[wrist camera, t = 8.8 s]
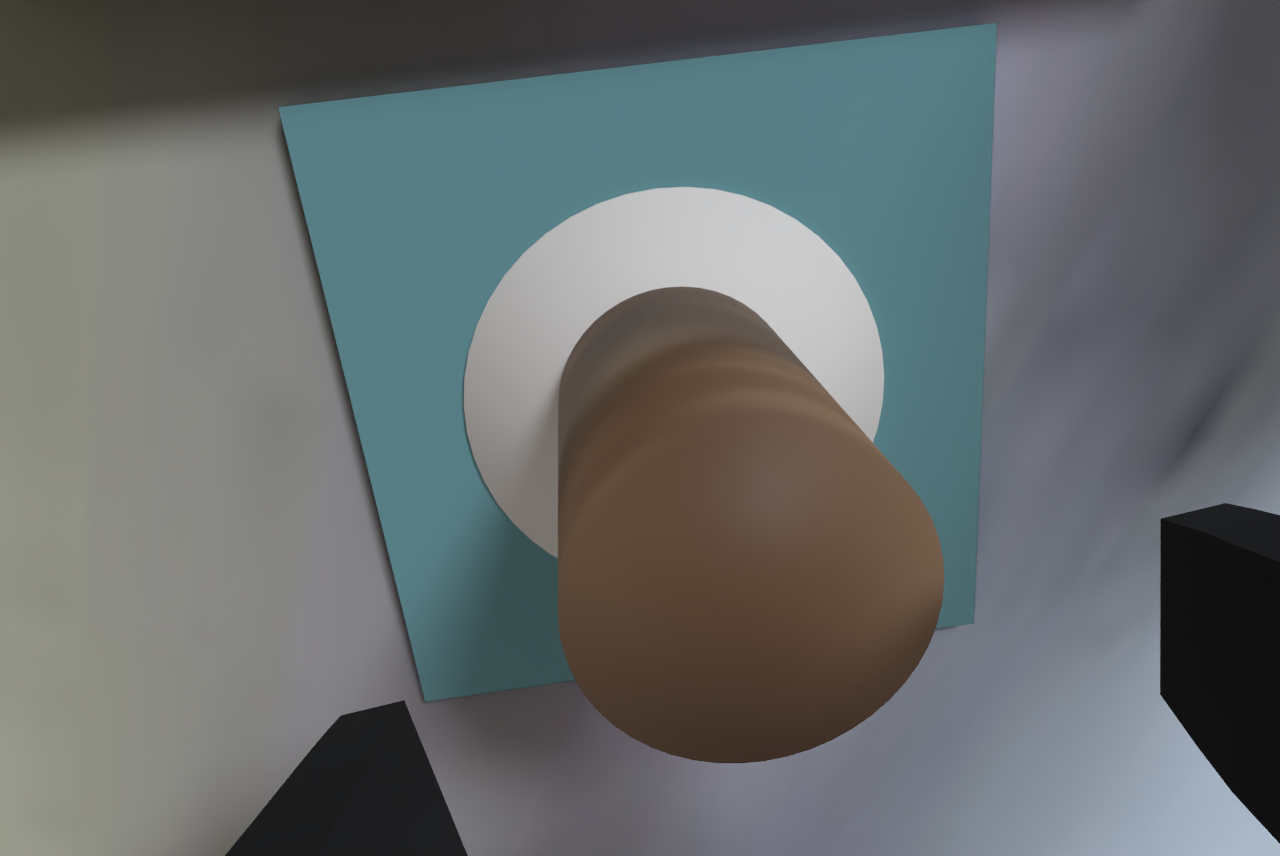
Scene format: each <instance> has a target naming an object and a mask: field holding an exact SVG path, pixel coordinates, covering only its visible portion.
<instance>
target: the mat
mask: <svg viewBox="0 0 1280 856" xmlns="http://www.w3.org/2000/svg"><path fill="white" fill-rule="evenodd" d="M996 38H997V23H990V24H982V25H973V26H965V27H956V28H948V29H939V30H931V31H922V32H914V33H905V34H897V35H888V36H880V37H871V38H863V39H854V40H845V41H837V42H828V43H820V44H811V45H803V46H794V47H786V48H777V49H769V50H760V51H752V52H743V53H735V54H726V55H718V56H709V57H701V58H692V59H684V60H675V61H667V62H658V63H650V64H641V65H633V66H624V67H616V68H607V69H599V70H590V71H582V72H573V73H565V74H556V75H548V76H539V77H531V78H522V79H514V80H505V81H496V82H488V83H479V84H471V85H462V86H454V87H445V88H437V89H428V90H420V91H411V92H403V93H394V94H386V95H377V96H369V97H360V98H352V99H343V100H335V101H326V102H318V103H309V104H301V105H292V106H284V107H278V109H279V113H280V117H281V121H282V125H283V129H284V133H285V137H286V141H287V145H288V149H289V153H290V157H291V161H292V166H293V170H294V174H295V178H296V182H297V186H298V190H299V194H300V198H301V202H302V206H303V210H304V214H305V218H306V222H307V226H308V230H309V234H310V238H311V242H312V246H313V250H314V254H315V258H316V262H317V267H318V271H319V275H320V279H321V283H322V287H323V291H324V295H325V299H326V303H327V307H328V311H329V315H330V319H331V323H332V327H333V331H334V335H335V339H336V343H337V347H338V351H339V355H340V359H341V363H342V368H343V372H344V376H345V380H346V384H347V388H348V392H349V396H350V400H351V404H352V408H353V412H354V416H355V420H356V424H357V428H358V432H359V436H360V440H361V444H362V448H363V452H364V456H365V460H366V464H367V468H368V473H369V477H370V481H371V485H372V489H373V493H374V497H375V501H376V505H377V509H378V513H379V517H380V521H381V525H382V529H383V533H384V537H385V541H386V545H387V549H388V553H389V557H390V561H391V565H392V569H393V574H394V578H395V582H396V586H397V590H398V594H399V598H400V602H401V606H402V610H403V614H404V618H405V622H406V626H407V630H408V634H409V638H410V642H411V646H412V650H413V654H414V658H415V662H416V666H417V670H418V675H419V679H420V683H421V687H422V691H423V695H424V699H425V702H427V701H434V700H441V699H448V698H455V697H462V696H469V695H476V694H483V693H490V692H497V691H504V690H511V689H518V688H525V687H532V686H539V685H546V684H553V683H560V682H567V681H574V680H575V678H574V677H573V675H572V672H571V670H570V667H569V665H568V663H567V660H566V658H565V655H564V651H563V647H562V643H561V638H560V634H559V622H558V400H559V388H560V383H561V378H562V374H563V371H564V368H565V365H566V363H567V360H568V358H569V356H570V354H571V352H572V350H573V348H574V346H575V345H576V343H577V342H578V341H579V339H580V338H581V336H582V335H583V333H584V332H585V331H586V330H587V329H588V328H589V327H590V326H591V325H592V324H593V322H594V321H596V320H597V319H598V318H599V317H600V316H601V315H603V314H604V313H605V312H606V311H608V310H609V309H611V308H612V307H614V306H615V305H617V304H619V303H620V302H622V301H624V300H626V299H629V298H631V297H633V296H635V295H638V294H641V293H644V292H647V291H650V290H655V289H660V288H666V287H682V286H684V287H697V288H703V289H708V290H712V291H716V292H719V293H722V294H725V295H727V296H730V297H732V298H734V299H736V300H738V301H740V302H741V303H743V304H745V305H746V306H748V307H749V308H750V309H752V310H753V311H755V312H756V313H757V314H758V315H759V316H760V317H761V318H762V319H763V320H764V321H765V322H767V324H768V325H769V326H770V327H771V328H772V329H773V330H774V331H775V333H776V334H777V335H778V336H779V337H780V338H781V339H782V341H783V342H784V343H785V344H786V345H787V346H788V347H789V348H790V350H791V351H792V352H793V353H794V354H795V355H796V356H797V358H798V359H799V360H800V361H801V362H802V363H803V364H804V365H805V367H806V368H807V369H808V370H809V371H810V372H811V373H812V374H813V376H814V377H815V378H816V379H817V380H818V381H819V382H820V384H821V385H822V386H823V387H824V388H825V389H826V390H827V391H828V393H829V394H830V395H831V396H832V397H833V398H834V399H835V401H836V402H837V403H838V404H839V405H840V406H841V407H842V408H843V410H844V411H845V412H846V413H847V414H848V415H849V416H850V418H851V419H852V420H853V421H854V422H855V423H856V424H857V425H858V427H859V428H860V429H861V430H862V431H863V432H864V433H865V434H866V436H867V437H868V438H869V439H870V440H871V441H872V442H873V444H874V445H875V446H876V447H877V448H878V449H879V450H880V451H881V453H882V454H883V455H884V456H885V457H886V458H887V459H888V461H889V462H890V463H891V464H892V465H893V466H894V467H895V468H896V470H897V471H898V472H899V473H900V474H901V475H902V476H903V478H904V479H905V480H906V481H907V482H908V483H909V485H910V486H911V487H912V489H913V490H914V491H915V492H916V494H917V495H918V496H919V497H920V499H921V500H922V502H923V504H924V506H925V507H926V509H927V511H928V513H929V515H930V516H931V518H932V521H933V523H934V526H935V529H936V532H937V534H938V537H939V540H940V545H941V551H942V556H943V561H944V591H943V600H942V606H941V610H940V614H939V618H938V622H937V626H936V628H935V629H937V628H944V627H951V626H958V625H965V624H972V623H974V608H975V582H976V556H977V530H978V504H979V479H980V453H981V427H982V401H983V375H984V349H985V323H986V297H987V271H988V245H989V219H990V193H991V167H992V141H993V115H994V90H995V64H996Z"/></svg>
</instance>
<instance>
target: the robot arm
mask: <svg viewBox="0 0 1280 856" xmlns="http://www.w3.org/2000/svg"><path fill="white" fill-rule="evenodd" d="M1160 695H1161V696H1162V697H1163V699H1164V700H1165V702H1166V703H1167V704H1168V706H1169V707H1170V709H1171V710H1172V711H1173V713H1174V714H1175V716H1176V717H1177V718H1178V720H1179V721H1180V723H1181V724H1182V725H1183V727H1184V728H1185V730H1186V731H1187V732H1188V734H1189V735H1190V737H1191V738H1192V739H1193V741H1194V742H1195V744H1196V745H1197V746H1198V748H1199V749H1200V750H1201V752H1202V753H1203V754H1204V756H1205V757H1206V758H1207V760H1208V761H1209V762H1210V763H1211V765H1212V766H1213V767H1214V769H1215V770H1216V771H1217V773H1218V774H1219V775H1220V777H1221V778H1222V779H1223V780H1224V782H1225V783H1226V784H1227V786H1228V787H1229V788H1230V790H1231V791H1232V792H1233V793H1234V794H1235V795H1236V796H1237V798H1238V799H1239V800H1240V801H1241V802H1242V803H1243V804H1244V805H1245V806H1246V808H1247V809H1248V810H1249V811H1250V812H1251V813H1252V814H1253V815H1254V816H1255V817H1256V818H1257V820H1258V821H1259V822H1260V823H1261V824H1262V825H1263V826H1264V827H1265V828H1266V829H1267V830H1268V831H1269V832H1270V834H1271V835H1272V836H1273V837H1274V838H1275V839H1276V840H1277V841H1278V842H1279V843H1280V515H1276V514H1272V513H1268V512H1264V511H1259V510H1255V509H1251V508H1246V507H1241V506H1236V505H1232V504H1226V503H1225V504H1220V505H1216V506H1212V507H1208V508H1204V509H1200V510H1195V511H1191V512H1187V513H1183V514H1179V515H1175V516H1171V517H1166V518H1162V519H1161V639H1160ZM225 856H467V853H466V851H465V848H464V846H463V843H462V841H461V839H460V836H459V834H458V831H457V829H456V826H455V824H454V821H453V819H452V816H451V814H450V812H449V809H448V807H447V804H446V802H445V799H444V797H443V794H442V792H441V790H440V787H439V785H438V782H437V780H436V777H435V775H434V772H433V770H432V768H431V765H430V763H429V760H428V758H427V755H426V753H425V750H424V748H423V745H422V743H421V741H420V738H419V736H418V733H417V731H416V728H415V726H414V723H413V721H412V719H411V716H410V714H409V711H408V709H407V706H406V704H405V701H400V702H396V703H392V704H387V705H383V706H379V707H375V708H371V709H367V710H362V711H358V712H354V713H350V714H346V715H342V716H340V717H339V718H338V719H337V721H336V722H335V723H334V724H333V725H332V726H331V727H330V728H329V729H328V731H327V732H326V733H325V734H324V735H323V736H322V737H321V739H320V740H319V741H318V742H317V743H316V745H315V746H314V747H313V748H312V749H311V751H310V752H309V753H308V754H307V755H306V757H305V758H304V759H303V760H302V762H301V763H300V764H299V765H298V766H297V768H296V769H295V770H294V771H293V773H292V774H291V775H290V776H289V778H288V779H287V780H286V781H285V783H284V784H283V785H282V786H281V787H280V789H279V790H278V791H277V792H276V794H275V795H274V796H273V797H272V799H271V800H270V801H269V802H268V804H267V805H266V806H265V807H264V809H263V810H262V811H261V812H260V814H259V815H258V816H257V817H256V818H255V820H254V821H253V822H252V823H251V825H250V826H249V827H248V828H247V830H246V831H245V832H244V833H243V834H242V836H241V837H240V838H239V839H238V841H237V842H236V843H235V844H234V845H233V847H232V848H231V849H230V850H229V851H228V853H227V854H226V855H225Z"/></svg>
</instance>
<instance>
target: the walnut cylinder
mask: <svg viewBox="0 0 1280 856" xmlns="http://www.w3.org/2000/svg"><path fill="white" fill-rule="evenodd" d="M943 591H944V561H943V556H942V551H941V545H940V540H939V537H938V534H937V532H936V529H935V526H934V523H933V521H932V518H931V516H930V515H929V513H928V511H927V509H926V507H925V506H924V504H923V502H922V500H921V499H920V497H919V496H918V495H917V494H916V492H915V491H914V490H913V489H912V487H911V486H910V485H909V483H908V482H907V481H906V480H905V479H904V478H903V476H902V475H901V474H900V473H899V472H898V471H897V470H896V468H895V467H894V466H893V465H892V464H891V463H890V462H889V461H888V459H887V458H886V457H885V456H884V455H883V454H882V453H881V451H880V450H879V449H878V448H877V447H876V446H875V445H874V444H873V442H872V441H871V440H870V439H869V438H868V437H867V436H866V434H865V433H864V432H863V431H862V430H861V429H860V428H859V427H858V425H857V424H856V423H855V422H854V421H853V420H852V419H851V418H850V416H849V415H848V414H847V413H846V412H845V411H844V410H843V408H842V407H841V406H840V405H839V404H838V403H837V402H836V401H835V399H834V398H833V397H832V396H831V395H830V394H829V393H828V391H827V390H826V389H825V388H824V387H823V386H822V385H821V384H820V382H819V381H818V380H817V379H816V378H815V377H814V376H813V374H812V373H811V372H810V371H809V370H808V369H807V368H806V367H805V365H804V364H803V363H802V362H801V361H800V360H799V359H798V358H797V356H796V355H795V354H794V353H793V352H792V351H791V350H790V348H789V347H788V346H787V345H786V344H785V343H784V342H783V341H782V339H781V338H780V337H779V336H778V335H777V334H776V333H775V331H774V330H773V329H772V328H771V327H770V326H769V325H768V324H767V322H765V321H764V320H763V319H762V318H761V317H760V316H759V315H758V314H757V313H756V312H755V311H753V310H752V309H750V308H749V307H748V306H746V305H745V304H743V303H741V302H740V301H738V300H736V299H734V298H732V297H730V296H727V295H725V294H722V293H719V292H716V291H712V290H708V289H703V288H697V287H684V286H682V287H666V288H660V289H655V290H650V291H647V292H644V293H641V294H638V295H635V296H633V297H631V298H629V299H626V300H624V301H622V302H620V303H619V304H617V305H615V306H614V307H612V308H611V309H609V310H608V311H606V312H605V313H604V314H603V315H601V316H600V317H599V318H598V319H597V320H596V321H594V322H593V324H592V325H591V326H590V327H589V328H588V329H587V330H586V331H585V332H584V333H583V335H582V336H581V338H580V339H579V341H578V342H577V343H576V345H575V346H574V348H573V350H572V352H571V354H570V356H569V358H568V360H567V363H566V365H565V368H564V371H563V374H562V378H561V383H560V388H559V400H558V622H559V634H560V638H561V643H562V647H563V651H564V655H565V658H566V660H567V663H568V665H569V667H570V670H571V672H572V675H573V677H574V678H575V680H576V682H577V683H578V685H579V687H580V688H581V690H582V691H583V693H584V694H585V696H586V697H587V698H588V699H589V701H590V702H591V703H592V704H593V705H594V707H595V708H596V709H597V710H598V711H599V712H600V713H601V714H602V715H603V716H604V717H606V718H607V719H608V720H609V721H610V722H611V723H612V724H613V725H615V726H616V727H617V728H619V729H620V730H622V731H623V732H625V733H626V734H628V735H629V736H631V737H632V738H634V739H636V740H638V741H640V742H642V743H644V744H646V745H648V746H650V747H652V748H655V749H658V750H660V751H663V752H666V753H668V754H671V755H675V756H679V757H683V758H687V759H692V760H698V761H706V762H714V763H747V762H758V761H766V760H771V759H776V758H781V757H786V756H790V755H793V754H796V753H800V752H803V751H806V750H809V749H812V748H814V747H816V746H819V745H821V744H824V743H826V742H828V741H831V740H833V739H834V738H836V737H838V736H840V735H842V734H844V733H845V732H847V731H849V730H851V729H852V728H854V727H855V726H857V725H858V724H860V723H861V722H863V721H864V720H865V719H867V718H868V717H870V716H871V715H872V714H873V713H875V712H876V711H877V710H878V709H879V708H880V707H882V706H883V705H884V704H885V703H886V702H887V701H889V699H890V698H891V697H892V696H893V695H894V694H895V693H896V692H897V691H898V690H899V689H900V688H901V686H902V685H903V684H904V683H905V682H906V680H907V679H908V678H909V676H910V675H911V674H912V672H913V671H914V669H915V668H916V667H917V665H918V664H919V662H920V660H921V658H922V656H923V655H924V653H925V651H926V649H927V647H928V646H929V643H930V641H931V638H932V636H933V633H934V631H935V628H936V626H937V622H938V618H939V614H940V610H941V606H942V600H943Z"/></svg>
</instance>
